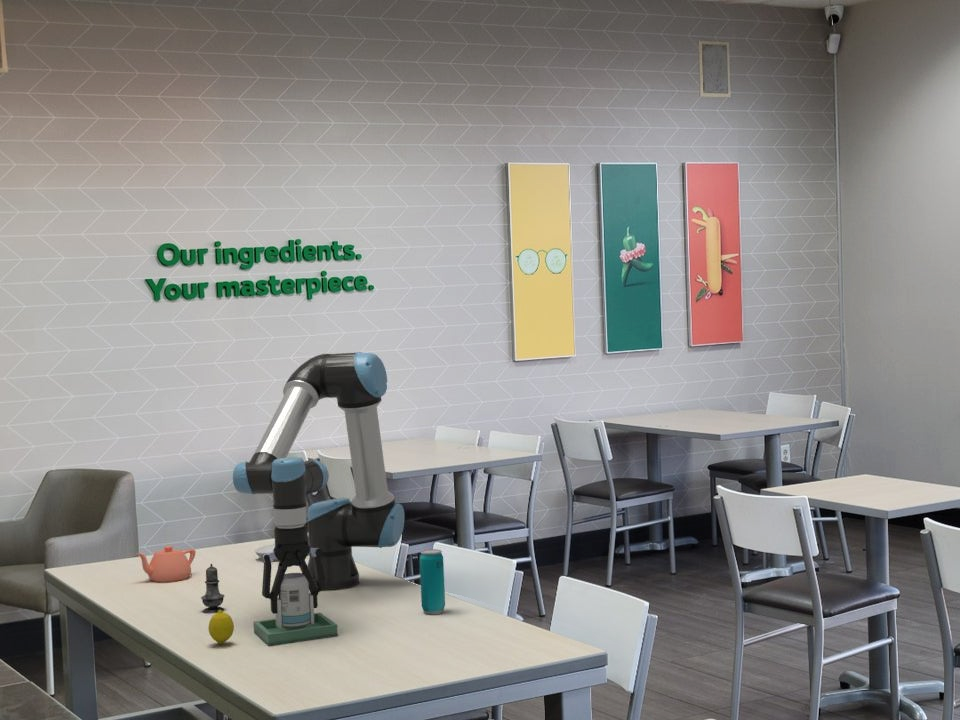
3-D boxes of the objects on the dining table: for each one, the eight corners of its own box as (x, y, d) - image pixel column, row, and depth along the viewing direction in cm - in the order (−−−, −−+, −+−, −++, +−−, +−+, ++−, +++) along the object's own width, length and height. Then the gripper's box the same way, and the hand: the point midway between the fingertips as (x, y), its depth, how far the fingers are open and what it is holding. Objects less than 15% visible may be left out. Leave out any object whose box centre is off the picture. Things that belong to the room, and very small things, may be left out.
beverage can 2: (449, 610, 290) (446, 549, 290) (438, 615, 285) (436, 553, 284) (428, 608, 292) (426, 548, 292) (417, 614, 287) (415, 552, 287)
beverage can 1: (315, 624, 275) (313, 572, 275) (301, 631, 268) (299, 579, 268) (289, 622, 277) (286, 571, 277) (274, 630, 271) (272, 578, 270)
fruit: (222, 649, 262) (220, 613, 262) (204, 646, 265) (202, 610, 265) (239, 642, 267) (238, 607, 267) (221, 640, 270) (220, 605, 270)
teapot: (205, 577, 343) (203, 544, 343) (145, 587, 332) (144, 553, 332) (187, 571, 353) (185, 539, 353) (128, 581, 342) (127, 548, 341)
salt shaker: (219, 613, 297) (217, 565, 296) (197, 613, 298) (195, 565, 297) (229, 607, 302) (226, 561, 302) (207, 607, 304) (205, 561, 303)
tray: (320, 622, 282) (320, 612, 282) (337, 635, 270) (337, 625, 270) (254, 632, 276) (253, 621, 276) (268, 645, 263) (267, 634, 263)
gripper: (327, 519, 280) (331, 615, 280) (244, 527, 272) (248, 627, 272) (336, 523, 273) (341, 622, 273) (251, 532, 265) (256, 634, 265)
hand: (295, 624), depth 273 cm, fingers closed on beverage can 1, 7 cm apart
